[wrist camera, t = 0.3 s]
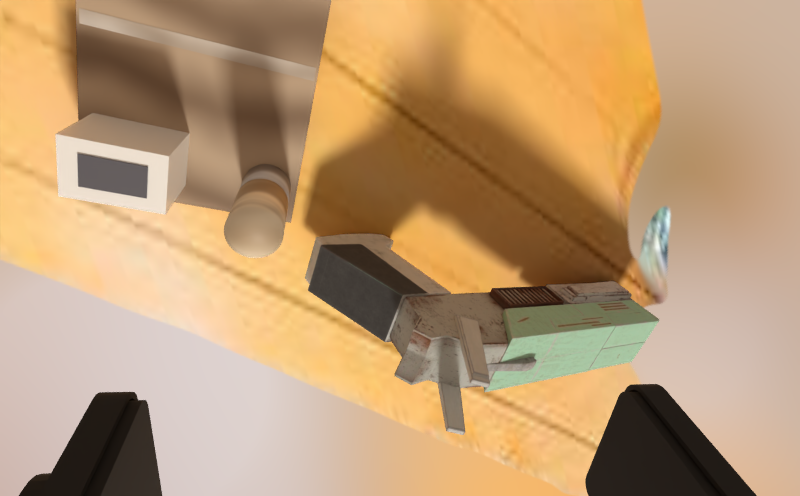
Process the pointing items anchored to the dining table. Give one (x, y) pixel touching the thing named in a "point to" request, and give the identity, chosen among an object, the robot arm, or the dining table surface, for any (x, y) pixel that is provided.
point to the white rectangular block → (121, 163)
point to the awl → (259, 212)
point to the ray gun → (475, 321)
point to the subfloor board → (207, 81)
